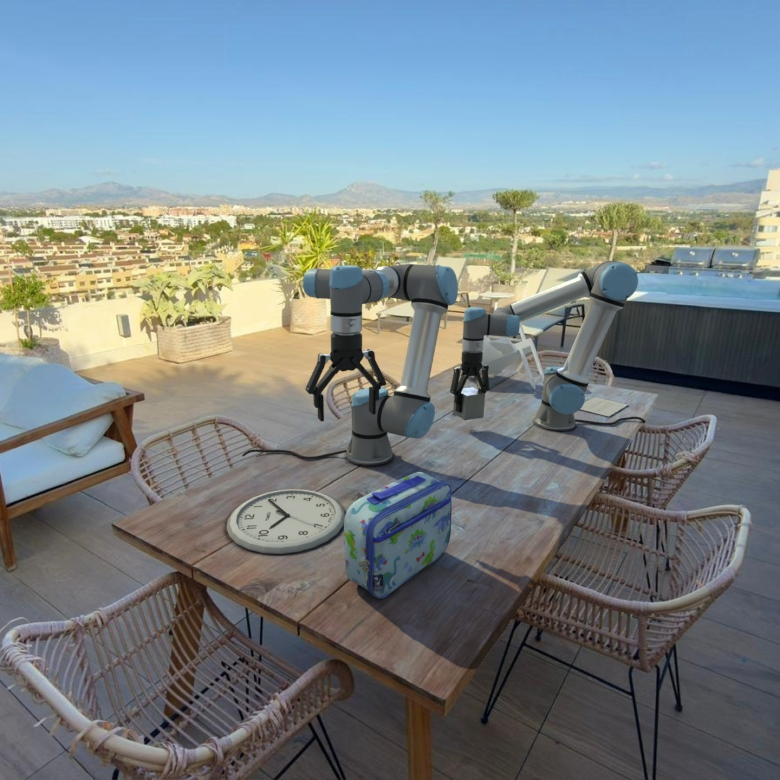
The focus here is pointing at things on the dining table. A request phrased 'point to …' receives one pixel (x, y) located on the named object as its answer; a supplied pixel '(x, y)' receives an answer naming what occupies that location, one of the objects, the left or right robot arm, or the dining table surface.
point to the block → (471, 404)
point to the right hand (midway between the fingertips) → (468, 410)
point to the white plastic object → (509, 355)
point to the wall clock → (285, 521)
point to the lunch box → (397, 532)
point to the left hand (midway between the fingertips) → (347, 416)
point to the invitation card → (602, 406)
